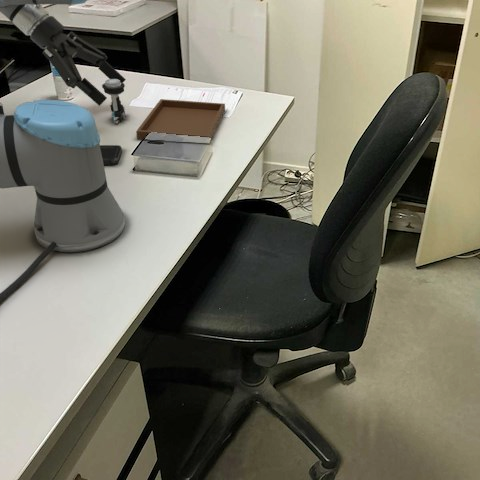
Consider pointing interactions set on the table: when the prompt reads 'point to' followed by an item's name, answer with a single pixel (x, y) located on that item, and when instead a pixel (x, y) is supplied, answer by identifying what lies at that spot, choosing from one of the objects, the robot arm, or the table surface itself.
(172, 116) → the tray
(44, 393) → the table surface
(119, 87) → the push button
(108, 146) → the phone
